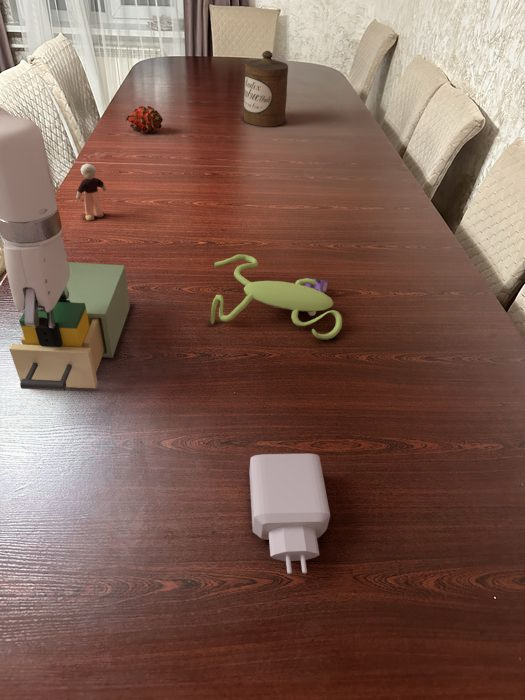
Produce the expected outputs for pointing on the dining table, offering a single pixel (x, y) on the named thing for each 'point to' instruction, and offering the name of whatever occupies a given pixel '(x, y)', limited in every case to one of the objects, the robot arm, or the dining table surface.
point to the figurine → (280, 296)
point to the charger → (289, 505)
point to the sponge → (62, 324)
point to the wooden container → (265, 91)
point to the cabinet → (101, 297)
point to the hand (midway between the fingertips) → (57, 332)
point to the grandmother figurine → (90, 192)
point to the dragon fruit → (145, 119)
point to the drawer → (60, 362)
